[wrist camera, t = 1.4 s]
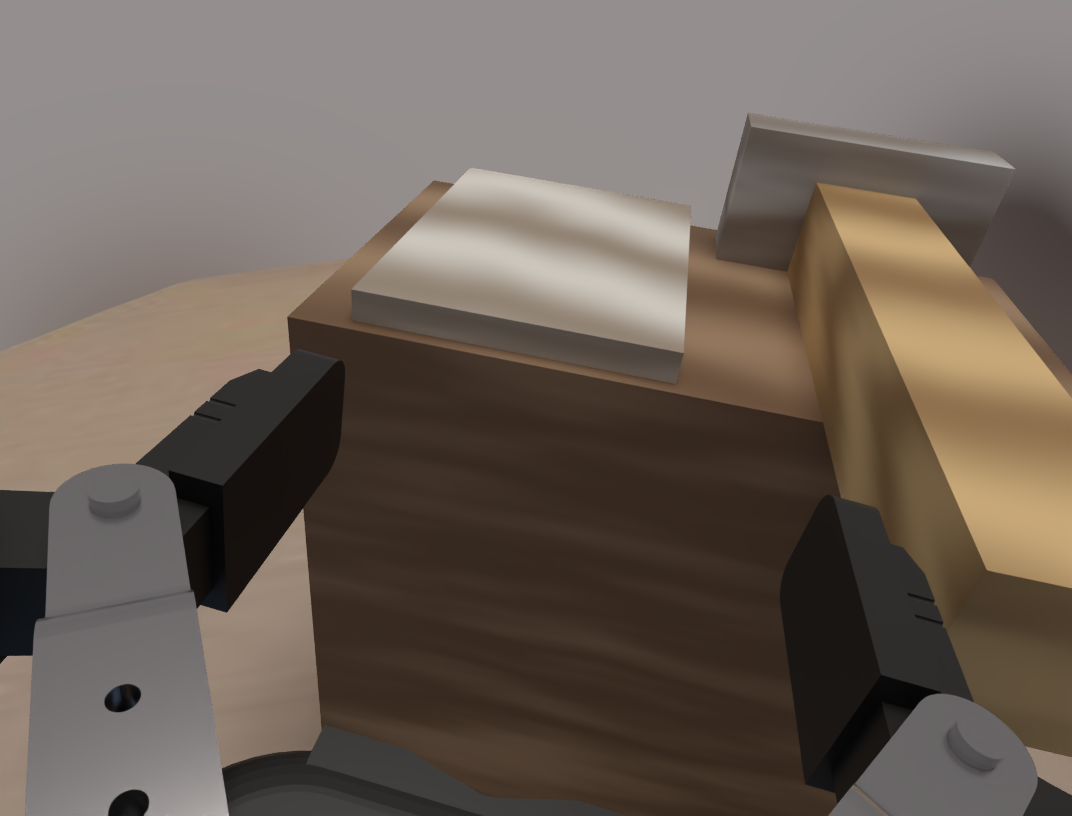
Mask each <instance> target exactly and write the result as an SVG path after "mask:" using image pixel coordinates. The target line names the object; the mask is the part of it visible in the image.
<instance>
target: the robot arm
mask: <svg viewBox="0 0 1072 816" xmlns="http://www.w3.org/2000/svg"><path fill="white" fill-rule="evenodd" d="M344 386H345V365H344V363H343V361H341V360H338V359H334V358H330V357H327V356H323V355H319V354H316V353H312V352H308V351H305V350H301V349H297V350H295V351H294V352H292V353H291V354H290V355H289V356H288V357H287V358H286V359H285V360H284V361H283V362H282V363H281V364H280V365H279V366H278V367H277V368H276V369H274V370H273V371H272V372H268V371H264V370H261V369H258V370H255V371H253V372H250V373H248V374H245V375H243V376H240V377H238V378H235V379H233V380H230V381H229V382H228V383H227V384H225V385H224V386H223V387H222V388H221V389H220V390H219V391H218V392H216V393H215V394H214V395H213V396H212V397H211V398H210V401H209V402H208V401H206V402H205V403H204V404H203V405H202V406H201V407H199V408H198V409H197V410H196V411H195V413H194V415H193V416H191V415H190V416H189V417H188V418H187V419H186V420H185V421H183V422H182V423H181V424H180V425H179V426H178V427H177V428H176V429H174V430H173V431H172V432H171V433H170V434H169V435H168V436H166V437H165V438H164V439H163V440H162V441H161V442H160V443H159V444H157V445H156V446H155V447H154V448H153V449H152V450H151V451H149V452H148V453H147V454H146V455H145V456H144V457H143V458H142V459H140V460H139V461H138V462H137V463H136V464H112V465H105V466H100V467H96V468H92V469H90V470H87V471H84V472H82V473H79V474H77V475H75V476H73V477H72V478H70V479H69V480H67V481H66V482H64V483H63V484H62V485H61V486H60V487H59V488H58V489H57V490H56V491H55V492H35V491H11V490H0V663H1V662H2V661H3V660H4V659H5V658H6V657H7V656H33V661H32V681H31V701H30V721H29V741H28V761H27V781H26V801H25V816H628V815H625V814H621V813H618V812H615V811H611V810H608V809H605V808H601V807H598V806H595V805H591V804H588V803H585V802H581V801H574V800H546V799H517V798H494V797H488V796H485V795H482V794H480V793H478V792H476V791H475V790H473V789H471V788H470V787H468V786H466V785H465V784H463V783H461V782H460V781H458V780H456V779H455V778H453V777H451V776H450V775H448V774H446V773H445V772H443V771H441V770H440V769H438V768H437V767H435V766H433V765H432V764H430V763H428V762H427V761H425V760H423V759H422V758H420V757H418V756H417V755H415V754H413V753H412V752H410V751H408V750H407V749H404V748H400V747H397V746H394V745H390V744H387V743H384V742H380V741H377V740H374V739H370V738H367V737H364V736H360V735H357V734H354V733H350V732H347V731H344V730H340V729H337V728H334V727H330V726H327V725H324V727H323V729H322V731H321V733H320V735H319V737H318V739H317V741H316V744H315V746H314V748H313V750H312V751H289V752H278V753H272V754H267V755H262V756H257V757H253V758H250V759H247V760H244V761H241V762H237V763H234V764H231V765H229V766H227V767H225V768H221V761H220V755H219V749H218V742H217V736H216V729H215V723H214V717H213V710H212V704H211V697H210V691H209V685H208V678H207V672H206V665H205V659H204V652H203V646H202V640H201V633H200V627H199V620H198V614H197V608H198V607H199V606H200V605H203V606H206V607H210V608H213V609H216V610H220V611H223V612H228V611H229V609H230V608H231V606H232V605H233V604H234V602H235V601H236V600H237V598H238V597H239V595H240V594H241V593H242V591H243V590H244V589H245V587H246V586H247V584H248V583H249V582H250V580H251V579H252V578H253V576H254V575H255V573H256V572H257V571H258V569H259V568H260V567H261V565H262V564H263V562H264V561H265V560H266V558H267V557H268V556H269V554H270V553H271V551H272V550H273V549H274V547H275V546H276V545H277V543H278V542H279V540H280V539H281V538H282V536H283V535H284V534H285V532H286V531H287V529H288V528H289V527H290V525H291V524H292V523H293V521H294V520H295V519H296V517H297V516H298V514H299V513H300V512H301V510H302V509H303V508H304V506H305V505H306V503H307V502H308V501H309V499H310V498H311V497H312V495H313V494H314V492H315V491H316V490H317V488H318V487H319V486H320V484H321V483H322V481H323V480H324V479H325V477H326V476H327V475H328V473H329V472H330V470H331V468H332V466H333V464H334V461H335V459H336V456H337V453H338V449H339V445H340V440H341V428H342V414H343V400H344ZM934 602H935V599H934V596H933V594H932V591H931V588H930V586H929V583H928V581H927V578H926V575H925V573H924V572H923V571H922V570H921V569H920V567H919V566H918V565H917V564H916V563H915V561H914V560H913V559H912V558H911V556H910V555H909V554H908V553H907V552H906V550H905V549H904V548H903V547H900V546H897V545H893V544H890V541H889V538H888V535H887V532H886V529H885V527H884V524H883V521H882V518H881V515H880V512H879V510H878V509H877V508H875V507H873V506H869V505H866V504H862V503H858V502H854V501H851V500H847V499H843V498H840V497H836V496H832V495H826V496H825V497H823V498H822V499H821V501H820V502H819V504H818V505H817V507H816V509H815V511H814V513H813V515H812V517H811V519H810V521H809V522H808V524H807V526H806V528H805V530H804V532H803V534H802V536H801V538H800V540H799V541H798V543H797V545H796V547H795V549H794V551H793V553H792V555H791V557H790V559H789V560H788V563H787V565H786V567H785V570H784V573H783V577H782V581H781V587H780V606H781V614H782V621H783V628H784V635H785V643H786V650H787V657H788V665H789V672H790V679H791V686H792V694H793V701H794V708H795V716H796V723H797V730H798V738H799V745H800V752H801V759H802V767H803V774H804V781H805V785H809V786H812V787H816V788H819V789H823V790H826V791H829V792H833V793H836V799H837V805H836V807H835V808H834V809H833V811H832V812H831V813H830V814H829V816H1072V795H1070V794H1068V793H1066V792H1064V791H1062V790H1061V789H1059V788H1057V787H1055V786H1053V785H1051V784H1050V783H1048V782H1046V781H1045V780H1043V779H1041V778H1039V777H1038V776H1037V771H1036V767H1035V765H1034V762H1033V759H1032V757H1031V756H1030V754H1029V752H1028V750H1027V749H1026V747H1025V746H1024V745H1023V743H1022V742H1021V740H1020V739H1019V738H1018V737H1017V736H1016V735H1015V733H1014V732H1013V731H1012V730H1011V729H1010V728H1009V727H1008V726H1007V725H1006V724H1005V723H1003V722H1002V721H1001V720H1000V719H998V718H997V717H996V716H995V715H993V714H992V713H990V712H989V711H987V710H986V709H985V708H983V707H981V706H979V705H977V704H976V703H974V700H973V698H972V695H971V693H970V690H969V687H968V685H967V682H966V680H965V677H964V674H963V672H962V669H961V667H960V664H959V661H958V659H957V656H956V654H955V651H954V648H953V646H952V643H951V641H950V638H949V635H948V633H947V630H946V628H943V623H944V622H943V620H942V617H941V614H940V612H939V609H938V607H937V606H936V605H934Z"/></svg>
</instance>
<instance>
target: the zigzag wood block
mask: <svg viewBox="0 0 1072 816" xmlns="http://www.w3.org/2000/svg"><path fill="white" fill-rule="evenodd" d="M690 219H691V206H690V205H684V204H678V203H671V202H667V201H661V200H655V199H649V198H643V197H638V196H631V195H626V194H620V193H614V192H609V191H602V190H597V189H591V188H585V187H580V186H574V185H568V184H562V183H557V182H551V181H544V180H539V179H533V178H528V177H522V176H515V175H510V174H504V173H499V172H492V171H487V170H481V169H476V168H470V169H469V170H468V171H467V172H466V173H465V174H464V175H463V176H462V177H461V178H460V179H459V180H458V181H457V182H456V183H455V184H450V183H444V182H439V181H433V182H432V183H431V184H430V185H429V186H428V187H427V188H426V189H424V190H423V191H422V192H421V193H420V194H419V195H418V196H417V197H416V198H415V199H414V200H413V201H412V202H410V203H409V204H408V205H407V206H406V207H405V208H404V209H403V210H402V211H401V212H400V213H399V214H398V215H397V216H395V217H394V218H393V219H392V220H391V221H390V222H389V223H388V224H387V225H386V226H385V227H384V228H383V229H381V230H380V231H379V232H378V233H377V234H376V235H375V236H374V237H373V238H372V239H371V240H370V241H368V243H366V244H365V245H364V246H363V247H362V248H361V249H360V250H359V251H358V252H357V253H356V254H354V255H353V257H351V258H350V259H349V260H348V261H347V262H346V263H345V264H344V265H343V266H342V267H340V268H339V269H338V270H337V271H336V272H335V273H334V274H333V275H332V276H331V277H330V278H329V279H328V280H326V281H325V282H324V283H323V284H322V285H321V286H320V287H319V288H318V289H317V290H316V291H315V292H314V293H312V294H311V295H310V296H309V297H308V298H307V299H306V300H305V301H304V302H303V303H302V304H301V305H300V306H298V307H297V308H296V309H295V310H294V311H293V312H292V313H291V314H290V315H289V316H288V317H287V318H288V330H289V342H290V353H292V352H294V351H295V350H297V349H301V350H305V351H308V352H312V353H316V354H319V355H323V356H327V357H330V358H334V359H338V360H341V361H343V363H344V365H345V386H344V400H343V414H342V428H341V440H340V445H339V449H338V453H337V456H336V459H335V461H334V464H333V466H332V468H331V470H330V472H329V473H328V475H327V476H326V477H325V479H324V480H323V481H322V483H321V484H320V486H319V487H318V488H317V490H316V491H315V492H314V494H313V495H312V497H311V498H310V499H309V501H308V502H307V503H306V505H305V506H304V508H303V509H304V521H305V533H306V545H307V557H308V569H309V581H310V593H311V605H312V617H313V629H314V641H315V653H316V665H317V677H318V689H319V701H320V713H321V725H322V729H323V727H324V725H327V726H330V727H334V728H337V729H340V730H344V731H347V732H350V733H354V734H357V735H360V736H364V737H367V738H370V739H374V740H377V741H380V742H384V743H387V744H390V745H394V746H397V747H400V748H404V749H407V750H408V751H410V752H412V753H413V754H415V755H417V756H418V757H420V758H422V759H423V760H425V761H427V762H428V763H430V764H432V765H433V766H435V767H437V768H438V769H440V770H441V771H443V772H445V773H446V774H448V775H450V776H451V777H453V778H455V779H456V780H458V781H460V782H461V783H463V784H465V785H466V786H468V787H470V788H471V789H473V790H475V791H476V792H478V793H480V794H482V795H485V796H488V797H494V798H517V799H546V800H574V801H581V802H585V803H588V804H591V805H595V806H598V807H601V808H605V809H608V810H611V811H615V812H618V813H621V814H625V815H628V816H829V814H830V813H831V812H832V811H833V809H834V808H835V807H836V805H837V799H836V793H833V792H829V791H826V790H823V789H819V788H816V787H812V786H809V785H805V781H804V774H803V767H802V759H801V752H800V745H799V738H798V730H797V723H796V716H795V708H794V701H793V694H792V686H791V679H790V672H789V665H788V657H787V650H786V643H785V635H784V628H783V621H782V614H781V606H780V587H781V581H782V577H783V573H784V570H785V567H786V565H787V563H788V560H789V559H790V557H791V555H792V553H793V551H794V549H795V547H796V545H797V543H798V541H799V540H800V538H801V536H802V534H803V532H804V530H805V528H806V526H807V524H808V522H809V521H810V519H811V517H812V515H813V513H814V511H815V509H816V507H817V505H818V504H819V502H820V501H821V499H822V498H823V497H825V496H826V495H832V496H836V497H840V498H841V495H840V491H839V487H838V483H837V479H836V474H835V470H834V466H833V462H832V458H831V454H830V449H829V445H828V441H827V437H826V433H825V428H824V424H823V420H822V416H821V412H820V407H819V403H818V399H817V395H816V391H815V387H814V382H813V378H812V374H811V370H810V366H809V361H808V357H807V353H806V349H805V345H804V341H803V336H802V332H801V328H800V324H799V320H798V315H797V311H796V307H795V303H794V299H793V294H792V290H791V286H790V282H789V278H788V274H787V272H785V271H780V270H774V269H768V268H763V267H757V266H752V265H746V264H740V263H735V262H729V261H724V260H718V259H716V241H715V238H716V234H717V230H712V229H707V228H701V227H695V226H690ZM977 278H978V279H979V280H980V281H981V283H982V284H983V285H984V287H985V288H986V289H987V290H988V292H989V293H990V294H991V296H992V297H993V298H994V299H995V301H996V302H997V303H998V305H999V306H1000V307H1001V308H1002V310H1003V311H1004V312H1005V314H1006V315H1007V316H1008V317H1009V319H1010V320H1011V321H1012V322H1013V324H1014V325H1015V326H1016V328H1017V329H1018V330H1019V331H1020V333H1021V334H1022V335H1023V337H1024V338H1025V339H1026V340H1027V342H1028V343H1029V344H1030V346H1031V347H1032V348H1033V349H1034V351H1035V352H1036V353H1037V355H1038V356H1039V357H1040V358H1041V360H1042V361H1043V362H1044V363H1045V365H1046V366H1047V367H1048V369H1049V370H1050V371H1051V372H1052V374H1053V375H1054V376H1055V378H1056V379H1057V380H1058V381H1059V383H1060V384H1061V385H1062V387H1063V388H1064V389H1065V390H1066V392H1067V393H1068V394H1069V396H1070V397H1071V398H1072V374H1071V373H1070V372H1069V371H1068V370H1067V368H1066V367H1065V366H1064V365H1063V363H1061V361H1060V360H1059V359H1058V357H1057V356H1056V355H1055V354H1054V352H1053V351H1052V350H1051V349H1050V348H1049V346H1048V345H1047V344H1046V343H1045V342H1044V340H1043V339H1042V338H1041V337H1040V335H1039V334H1038V333H1037V332H1036V331H1035V329H1034V328H1033V327H1032V326H1031V325H1030V323H1029V322H1028V321H1027V320H1026V319H1025V317H1024V316H1023V315H1022V314H1021V312H1020V311H1019V310H1018V309H1017V307H1016V306H1015V305H1014V304H1013V303H1012V301H1011V300H1010V299H1009V298H1008V297H1007V295H1006V294H1005V293H1004V292H1003V291H1002V289H1001V288H1000V287H999V286H998V284H997V283H996V282H995V281H994V280H993V279H992V278H986V277H980V276H977Z"/></svg>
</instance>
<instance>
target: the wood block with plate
mask: <svg viewBox="0 0 1072 816" xmlns="http://www.w3.org/2000/svg"><path fill="white" fill-rule="evenodd" d="M1015 170H1016V169H1015V168H1013V167H1012V166H1011V165H1010V164H1008V163H1007V162H1006V161H1004V160H1003V159H1002V158H1001V157H999V156H998V155H997V154H995V153H994V152H991V151H984V150H978V149H971V148H966V147H959V146H953V145H947V144H941V143H934V142H927V141H922V140H916V139H909V138H903V137H897V136H890V135H884V134H878V133H872V132H865V131H859V130H853V129H847V128H840V127H834V126H828V125H821V124H815V123H809V122H803V121H797V120H790V119H784V118H777V117H772V116H765V115H759V114H753V113H748V115H747V119H746V123H745V126H744V130H743V134H742V138H741V142H740V146H739V150H738V153H737V157H736V161H735V165H734V169H733V172H732V176H731V180H730V184H729V188H728V192H727V195H726V200H725V203H724V207H723V211H722V215H721V218H720V222H719V226H718V230H717V234H716V238H715V241H716V259H718V260H724V261H729V262H735V263H740V264H746V265H752V266H757V267H763V268H768V269H774V270H780V271H785V272H787V274H788V278H789V282H790V286H791V290H792V294H793V299H794V303H795V307H796V311H797V315H798V320H799V324H800V328H801V332H802V336H803V341H804V345H805V349H806V353H807V357H808V361H809V366H810V370H811V374H812V378H813V382H814V387H815V391H816V395H817V399H818V403H819V407H820V412H821V416H822V420H823V424H824V428H825V433H826V437H827V441H828V445H829V449H830V454H831V458H832V462H833V466H834V470H835V474H836V479H837V483H838V487H839V491H840V495H841V498H843V499H847V500H851V501H854V502H858V503H862V504H866V505H869V506H873V507H875V508H877V509H878V510H879V512H880V515H881V518H882V521H883V524H884V527H885V529H886V532H887V535H888V538H889V541H890V544H893V545H897V546H900V547H903V548H904V549H905V550H906V552H907V553H908V554H909V555H910V556H911V558H912V559H913V560H914V561H915V563H916V564H917V565H918V566H919V567H920V569H921V570H922V571H923V572H924V573H925V575H926V578H927V581H928V583H929V586H930V588H931V591H932V594H933V596H934V599H935V602H934V605H936V606H937V607H938V609H939V612H940V614H941V617H942V620H943V622H944V623H943V628H946V630H947V633H948V635H949V638H950V641H951V643H952V646H953V648H954V651H955V654H956V656H957V659H958V661H959V664H960V667H961V669H962V672H963V674H964V677H965V680H966V682H967V685H968V687H969V690H970V693H971V695H972V698H973V700H974V703H976V704H977V705H979V706H981V707H983V708H985V709H986V710H987V711H989V712H990V713H992V714H993V715H995V716H996V717H997V718H998V719H1000V720H1001V721H1002V722H1003V723H1005V724H1006V725H1007V726H1008V727H1009V728H1010V729H1011V730H1012V731H1013V732H1014V733H1015V735H1016V736H1017V737H1018V738H1019V739H1020V740H1021V742H1022V743H1023V745H1024V746H1026V747H1030V748H1035V749H1039V750H1043V751H1048V752H1052V753H1056V754H1061V755H1065V756H1069V757H1072V398H1071V397H1070V396H1069V394H1068V393H1067V392H1066V390H1065V389H1064V388H1063V387H1062V385H1061V384H1060V383H1059V381H1058V380H1057V379H1056V378H1055V376H1054V375H1053V374H1052V372H1051V371H1050V370H1049V369H1048V367H1047V366H1046V365H1045V363H1044V362H1043V361H1042V360H1041V358H1040V357H1039V356H1038V355H1037V353H1036V352H1035V351H1034V349H1033V348H1032V347H1031V346H1030V344H1029V343H1028V342H1027V340H1026V339H1025V338H1024V337H1023V335H1022V334H1021V333H1020V331H1019V330H1018V329H1017V328H1016V326H1015V325H1014V324H1013V322H1012V321H1011V320H1010V319H1009V317H1008V316H1007V315H1006V314H1005V312H1004V311H1003V310H1002V308H1001V307H1000V306H999V305H998V303H997V302H996V301H995V299H994V298H993V297H992V296H991V294H990V293H989V292H988V290H987V289H986V288H985V287H984V285H983V284H982V283H981V281H980V280H979V279H978V278H977V276H976V275H975V274H974V273H973V271H972V270H971V269H970V265H971V263H972V261H973V259H974V257H975V255H976V252H977V250H978V248H979V246H980V244H981V242H982V240H983V238H984V236H985V234H986V232H987V229H988V227H989V225H990V223H991V221H992V219H993V217H994V215H995V212H996V210H997V208H998V206H999V204H1000V202H1001V200H1002V198H1003V196H1004V194H1005V191H1006V189H1007V187H1008V185H1009V183H1010V181H1011V179H1012V177H1013V175H1014V172H1015Z"/></svg>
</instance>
